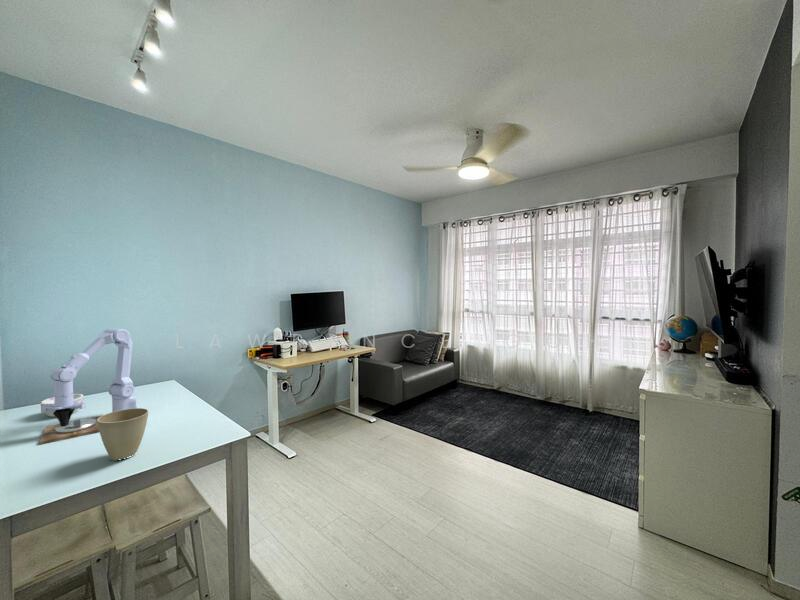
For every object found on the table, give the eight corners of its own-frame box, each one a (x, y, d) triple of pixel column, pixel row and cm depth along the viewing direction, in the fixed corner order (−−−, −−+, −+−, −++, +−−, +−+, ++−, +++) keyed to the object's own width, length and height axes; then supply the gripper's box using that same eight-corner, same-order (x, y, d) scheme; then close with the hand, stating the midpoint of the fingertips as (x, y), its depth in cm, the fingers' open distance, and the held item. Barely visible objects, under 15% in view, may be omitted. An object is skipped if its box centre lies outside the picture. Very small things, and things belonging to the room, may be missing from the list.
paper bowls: (45, 422, 155) (45, 405, 154) (37, 415, 163) (36, 399, 162) (88, 412, 167) (88, 396, 167) (78, 406, 175) (78, 391, 175)
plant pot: (138, 463, 119) (137, 420, 118) (88, 469, 115) (87, 424, 114) (155, 444, 133) (155, 406, 133) (112, 449, 129) (111, 409, 129)
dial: (54, 427, 146) (54, 418, 145) (94, 418, 155) (93, 410, 155) (55, 436, 137) (55, 426, 137) (97, 426, 147) (97, 417, 147)
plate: (106, 417, 160) (105, 414, 160) (106, 430, 146) (106, 427, 146) (46, 429, 147) (46, 426, 147) (40, 444, 132) (40, 441, 132)
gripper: (35, 399, 137) (36, 430, 137) (76, 396, 140) (77, 427, 140) (49, 393, 144) (50, 424, 144) (88, 391, 147) (89, 421, 147)
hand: (64, 425), depth 143 cm, fingers closed
